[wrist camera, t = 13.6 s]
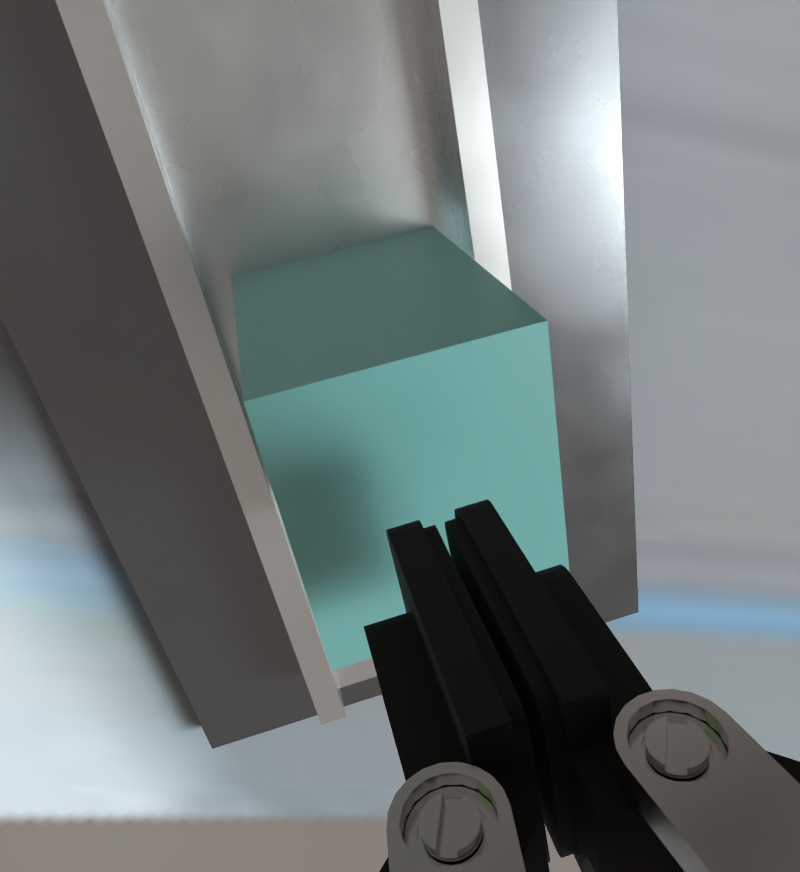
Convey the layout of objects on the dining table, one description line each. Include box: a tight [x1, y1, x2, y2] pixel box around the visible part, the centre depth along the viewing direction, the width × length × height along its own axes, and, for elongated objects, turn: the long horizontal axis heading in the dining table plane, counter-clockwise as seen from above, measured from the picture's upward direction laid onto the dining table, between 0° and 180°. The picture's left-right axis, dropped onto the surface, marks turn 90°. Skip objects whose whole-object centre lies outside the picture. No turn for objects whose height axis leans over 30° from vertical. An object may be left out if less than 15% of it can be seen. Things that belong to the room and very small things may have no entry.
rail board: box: [0, 0, 638, 749], centre depth 20 cm, size 26×16×3 cm, turn 11°
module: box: [231, 227, 570, 670], centre depth 16 cm, size 6×5×7 cm
